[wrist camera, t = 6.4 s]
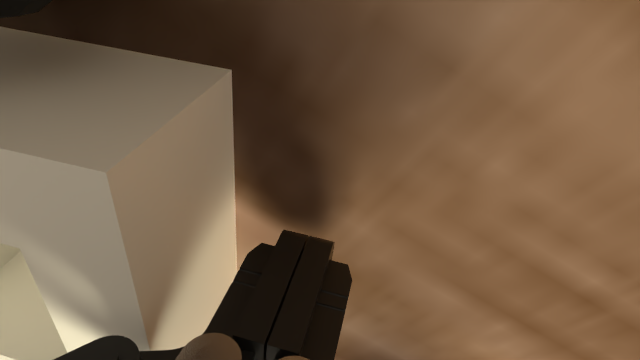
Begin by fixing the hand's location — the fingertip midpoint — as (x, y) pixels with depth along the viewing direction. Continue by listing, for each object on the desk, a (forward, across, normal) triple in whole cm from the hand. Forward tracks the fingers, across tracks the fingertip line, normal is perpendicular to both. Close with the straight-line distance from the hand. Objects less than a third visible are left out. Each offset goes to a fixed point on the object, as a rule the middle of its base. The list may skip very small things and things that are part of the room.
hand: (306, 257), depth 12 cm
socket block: (+1, +8, 0) cm, 8 cm away
